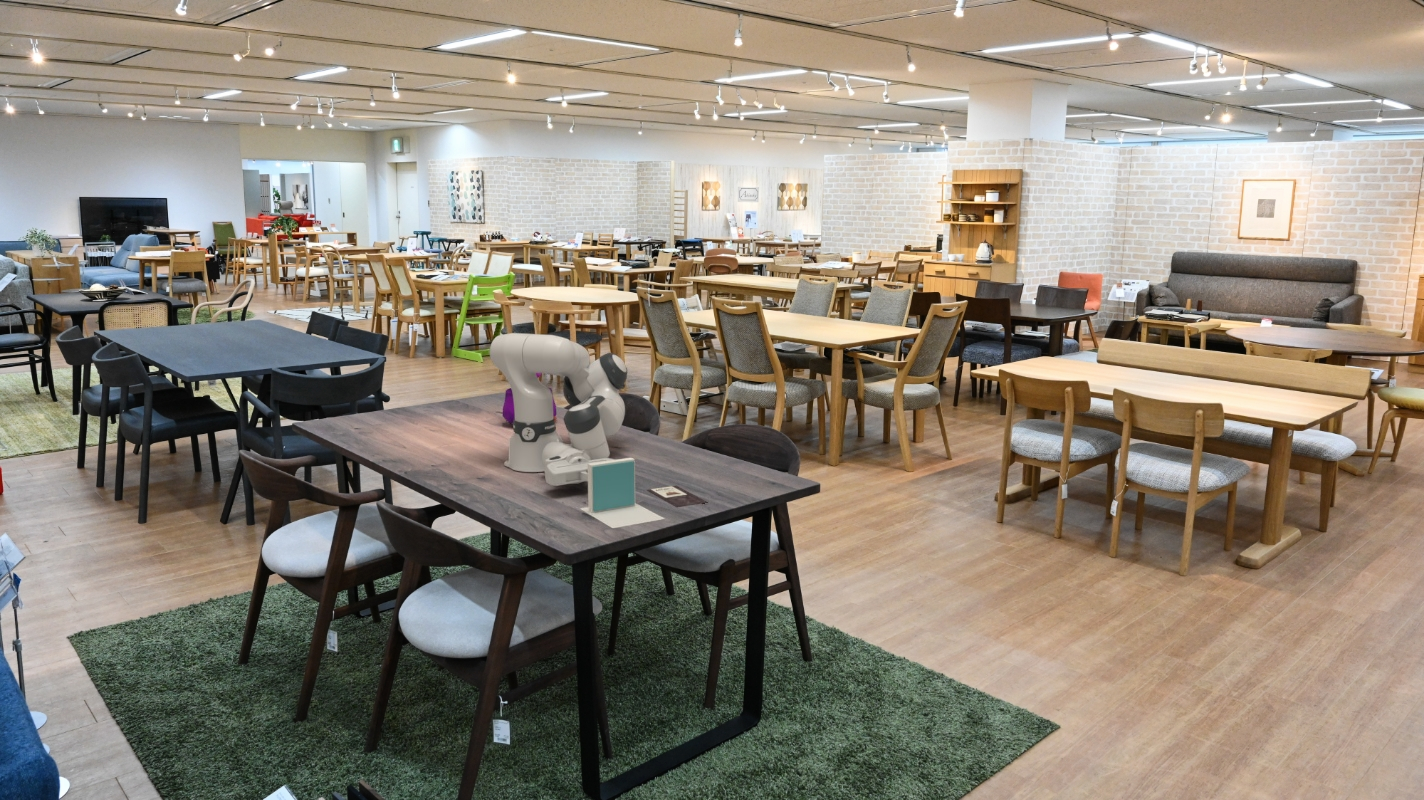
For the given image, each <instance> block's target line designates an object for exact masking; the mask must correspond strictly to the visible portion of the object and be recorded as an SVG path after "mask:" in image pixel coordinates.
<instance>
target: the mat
mask: <svg viewBox="0 0 1424 800" xmlns="http://www.w3.org/2000/svg"><path fill="white" fill-rule="evenodd" d="M579 510H581V511H583V512H585V513H586V514H587V515H589V516H591V517H593V518H595V519H596V520H598V521H599V522H601V523H603V524H605V525H606V526H608V527H609V528H612V529H616V528H623V527H628V526H634V525H638V524H639V525H640V524H644V523H649V522H650V523H651V522H656V521H661V520H665V519H666V518H665V517H663V516H661V515H659V514H657V513H655V512H653V511H651V510H650V509H647V508H645V507H644V506H642V505H640V504H638V503H636V502H635V506H630V507H624V508H618V509H612V510H606V511H600V512H594V513H591V512H590V511H588V506H585V507H579Z"/></svg>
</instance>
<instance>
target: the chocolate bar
mask: <svg viewBox="0 0 1424 800" xmlns="http://www.w3.org/2000/svg"><path fill="white" fill-rule="evenodd" d="M646 491H647V492H649V493H650V494H653V495H654V496H656V497H657V498H659V499H661V500H663V501H665V502H666V503H668V504H669V505H672V506H674V508H682V507H688V506H693V505H703V504H705V503H708V504H709V502H708V501H707V500H704V499H703V498H701V497H698V496H697V495H695V494H693V493H692V492H689V491H687V490H686V489H683V488H681V487H680V486H678V485H673V486H664V487H659V488H658V487H657V488H651V489H650V488H649V489H646Z"/></svg>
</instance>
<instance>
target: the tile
mask: <svg viewBox="0 0 1424 800" xmlns="http://www.w3.org/2000/svg"><path fill="white" fill-rule="evenodd" d="M587 465H588V481H587V498H588V499H587V502H588V505H587V507H588V511H590V512H591V513H594V512H600V511H606V510H612V509H618V508H624V507H630V506H635V503H636V459H635V458H633V457H625V458H619V459H618V458H616V459H614V460H610V461H603V462H596V463H589V464H587Z"/></svg>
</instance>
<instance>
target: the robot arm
mask: <svg viewBox="0 0 1424 800" xmlns="http://www.w3.org/2000/svg"><path fill="white" fill-rule="evenodd" d="M490 343H491V344H490V347H489V357H490V361H491V363H493V365H494V366H495V367H496V368H497V369H498V370H499V371H500V372H501V373H502V374H503V375H504V377H505V379H506V380H507V382H508V384H509V388H511V389H512V393H513V399H514V411H515V419H514V421H513V423H512V427H513V432H514V433H513V435H512V436H510V437H509V440H508V441H509V442H508V460H506V461H504V465H503V466H505V467H507V468H510V469H511V470H513V471H517V472H524V473H537V472H538V473H541V472H544V477H545V478H544V479H545V483H546V484H549V485H550V486H552V487H553V486H554V487H557V486H564V485H569V484H573V485H574V484H575V485H578V484H581V483H583V482H588V465H587V464H589V463H596V462H603V461H610V460H615V459H614V458H610V456H611V455H610V454H611V452H610V448H609V444H608V441H607V437H610V436H613V435H615V434H616V433H617V432H618V431H619V430H620V428H621V427H622V425H623V422H624V419H625V415H626V408H625V407H626V405H625V402H624V400H623V398H622V397H621V395H620V394H619V393H620V392H619V391H620V390H624V389H625V388H626V385H625V383H626V381H627V379H628V367H627V366H626V364H625V362H624V360H622V358H621V357H620V356H618V355H617V354H615V353H614V352H607V353H605V354H602V355H600V356H599V358H598V359H596V360H594V361H592V362H591V357H590V353H589V351H588V350H587V348H585V347H584V346H583V345H582V344H579V343H577V342H575V341H571V340H570V339H568V338H566V337H564V336H563V337H562V336H558V335H554V334H539V333H521V332H520V333H519V332H518V333H516V332H511V333H505V334H499V335H497V336H495V338H493V340H492V342H490ZM536 373H542V374H547V375H550V376H560V377H561V376H562V377H564V378H563V386H562V387H563V388H562V390H563V391H562V392H563V396H564V398H565V401H566V402H567V403H568V404H569V406H571V408H568V410H567V411H566V413H565V415H564V416H563V422H564V425H565V428H566V430H567V432H568V437H569V441H570V443H568V444H567V443H565V442H563V438H562V437H561V435H559V433H558V432H557V431H556V430H557V421H558V420H557V415H556V416H554V417H553V398H554V394H553V395H552V393H553V391H552V392H551V391H550V389H549V388H550V387H549V388H548V386H546V385H545V384H543V383H542V382H540V381H541V380H540V379H539V378H537V376H536ZM539 380H540V381H539Z"/></svg>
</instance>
